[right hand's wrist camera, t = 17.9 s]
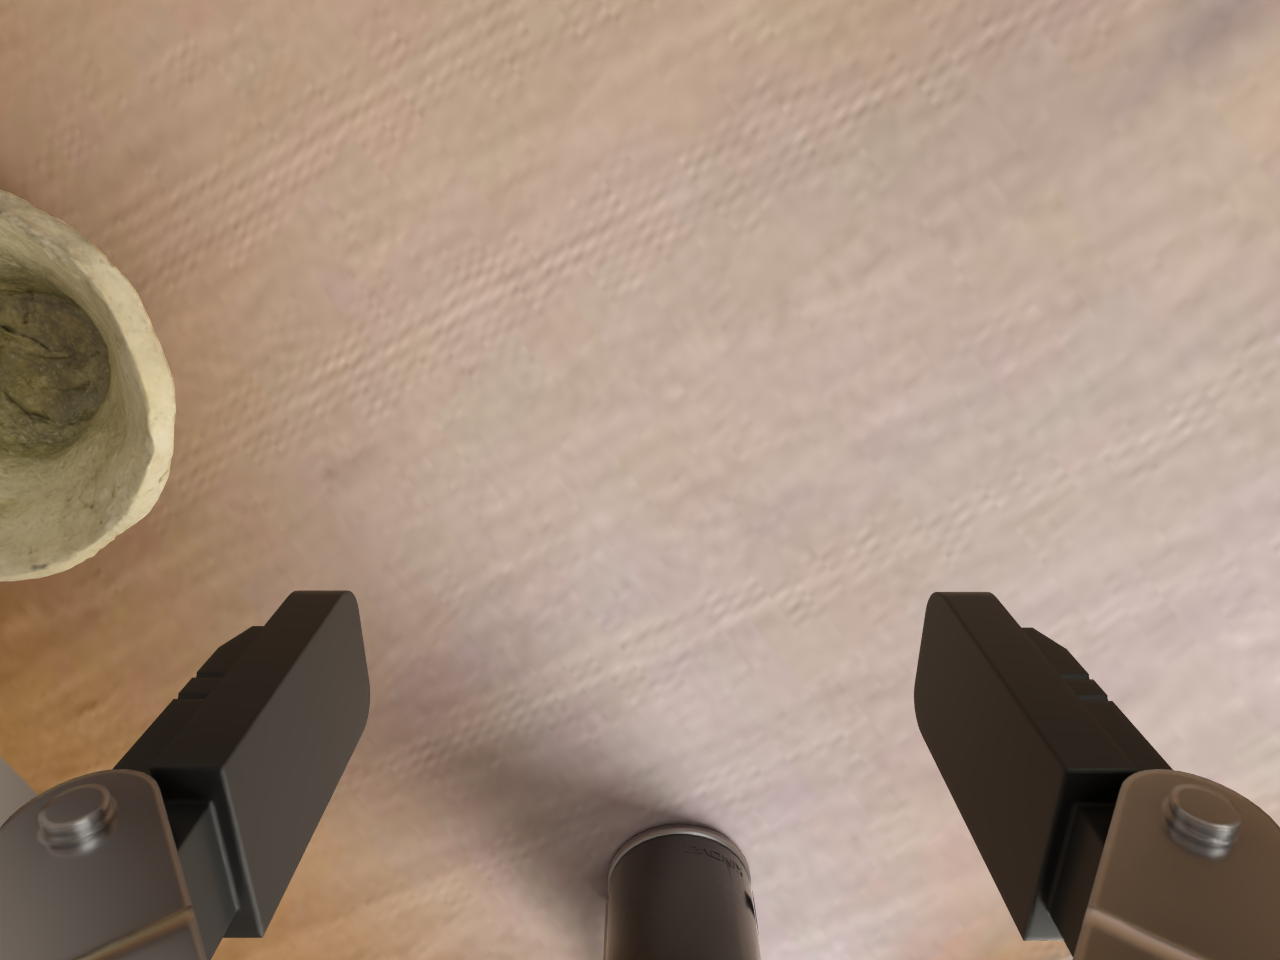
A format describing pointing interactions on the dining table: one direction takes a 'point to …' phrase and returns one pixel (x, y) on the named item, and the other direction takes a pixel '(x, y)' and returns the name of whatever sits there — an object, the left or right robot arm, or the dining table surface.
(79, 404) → the bowl
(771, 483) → the dining table surface
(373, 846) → the dining table surface
